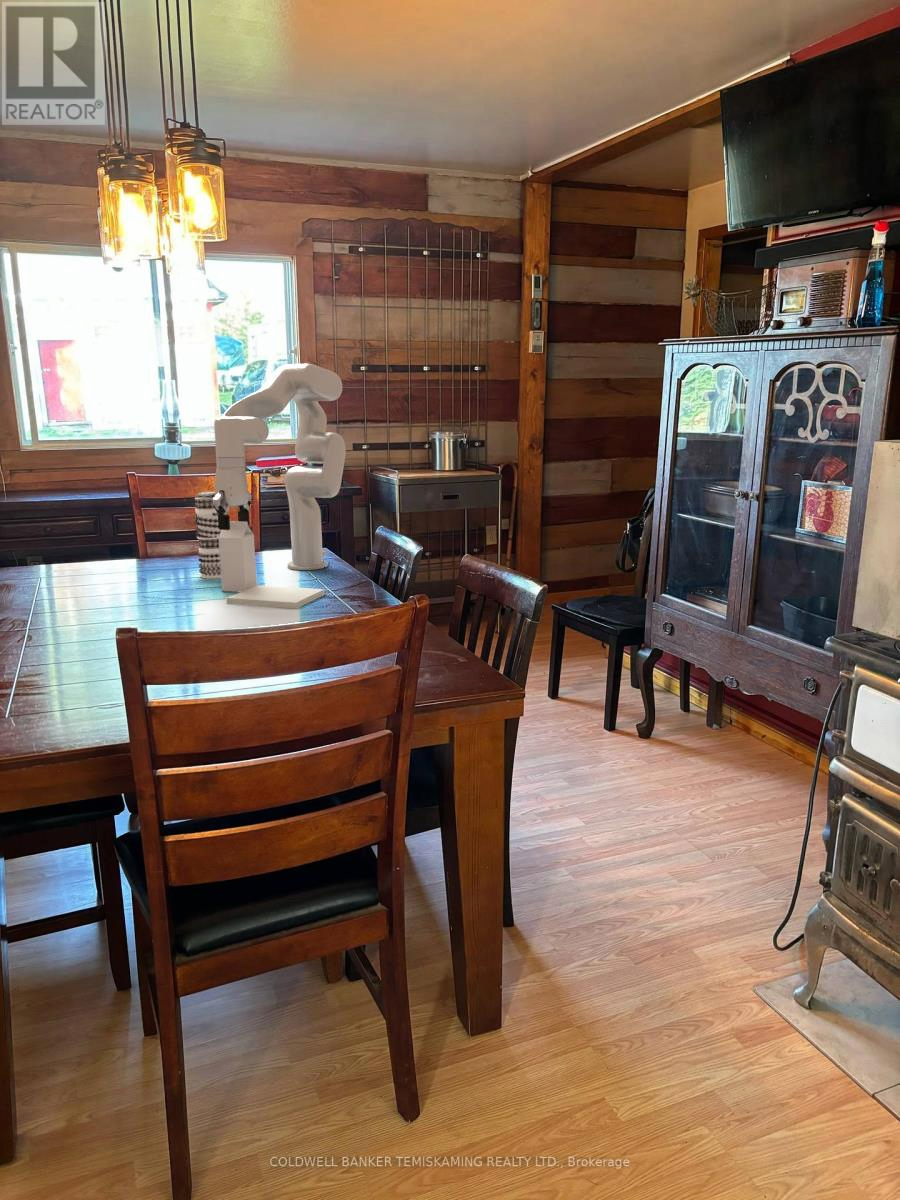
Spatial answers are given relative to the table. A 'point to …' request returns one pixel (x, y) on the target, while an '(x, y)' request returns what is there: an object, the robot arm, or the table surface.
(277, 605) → the serving board
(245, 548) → the milk carton
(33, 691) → the table surface
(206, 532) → the decorative candle
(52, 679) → the table surface
